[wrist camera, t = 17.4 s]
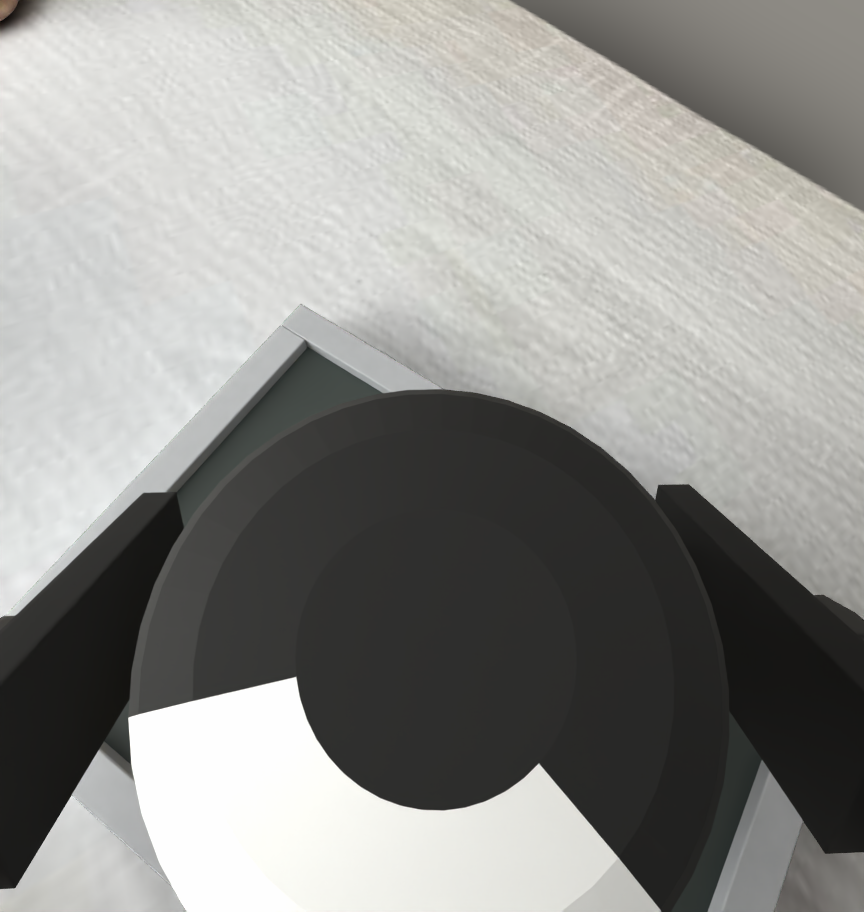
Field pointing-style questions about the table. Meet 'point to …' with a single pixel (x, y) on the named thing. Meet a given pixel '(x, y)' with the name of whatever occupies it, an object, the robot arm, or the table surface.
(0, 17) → the case
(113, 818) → the chalkboard
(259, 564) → the medicine bottle
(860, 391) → the table surface
